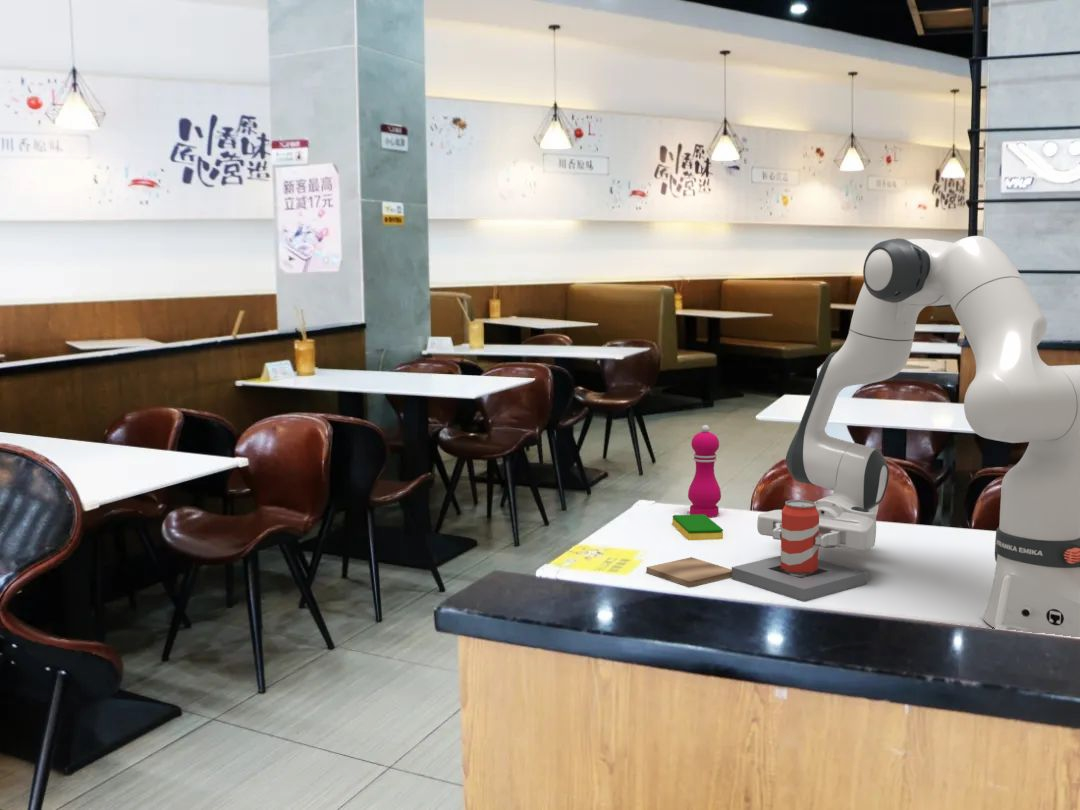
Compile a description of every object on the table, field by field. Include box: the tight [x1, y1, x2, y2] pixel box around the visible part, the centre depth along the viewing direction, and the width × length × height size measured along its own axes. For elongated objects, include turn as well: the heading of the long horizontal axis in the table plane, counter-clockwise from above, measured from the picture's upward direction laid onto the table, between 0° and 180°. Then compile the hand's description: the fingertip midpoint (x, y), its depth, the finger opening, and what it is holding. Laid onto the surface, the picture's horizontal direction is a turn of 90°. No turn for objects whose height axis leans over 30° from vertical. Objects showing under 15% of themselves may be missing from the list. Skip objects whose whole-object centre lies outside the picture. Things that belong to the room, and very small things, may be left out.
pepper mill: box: [687, 424, 722, 518], centre depth 227 cm, size 7×7×20 cm
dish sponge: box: [672, 514, 724, 541], centre depth 213 cm, size 7×14×2 cm, turn 7°
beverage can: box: [780, 499, 819, 576], centre depth 177 cm, size 6×6×12 cm
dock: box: [730, 555, 867, 602], centre depth 178 cm, size 16×16×2 cm
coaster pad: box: [645, 556, 732, 588], centre depth 182 cm, size 11×11×1 cm
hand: (797, 538), depth 176 cm, fingers closed on beverage can, 6 cm apart
